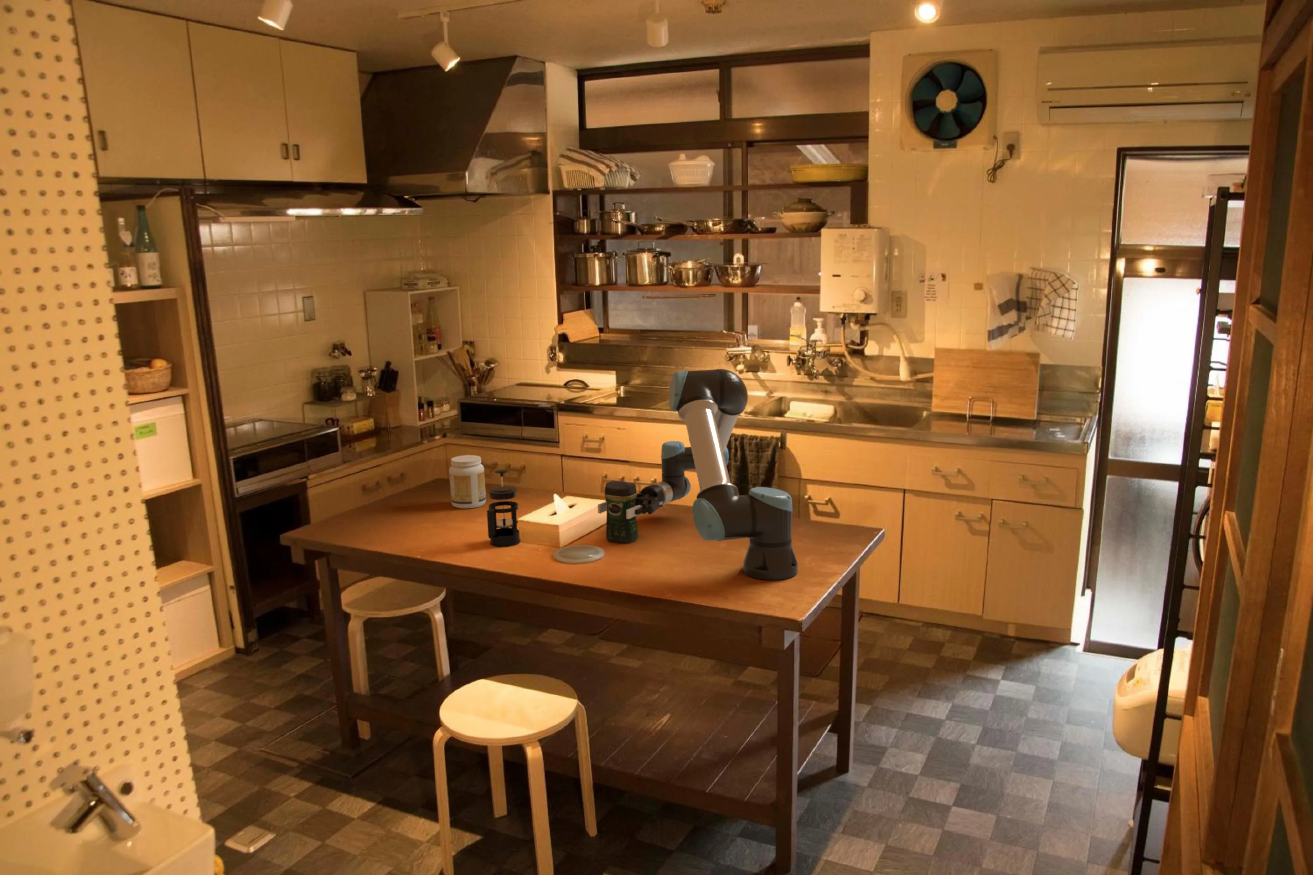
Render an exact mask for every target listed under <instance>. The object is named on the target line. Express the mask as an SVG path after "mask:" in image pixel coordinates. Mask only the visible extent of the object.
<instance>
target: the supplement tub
mask: <svg viewBox="0 0 1313 875" xmlns="http://www.w3.org/2000/svg"><path fill="white" fill-rule="evenodd" d="M481 458H482V457H481V456H479V455H476V454H475V455H474V454H473V455H472V454H465V455H464V454H463V455H457V456H454V457H452V458H451V460H450V465H451V466H450V467H449V470H448V474H449V487H450V488H449V489H450V503H451V505H452V506H453V507H455V508H456V509H457V508H458V509H464V510H466V509H468V508H469V509H475V508H480V507H482V506H483V505H485V504H486V501H487V494H486V493H487V492H486V477H485V467H484V465H483V464H482V459H481Z"/></svg>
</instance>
